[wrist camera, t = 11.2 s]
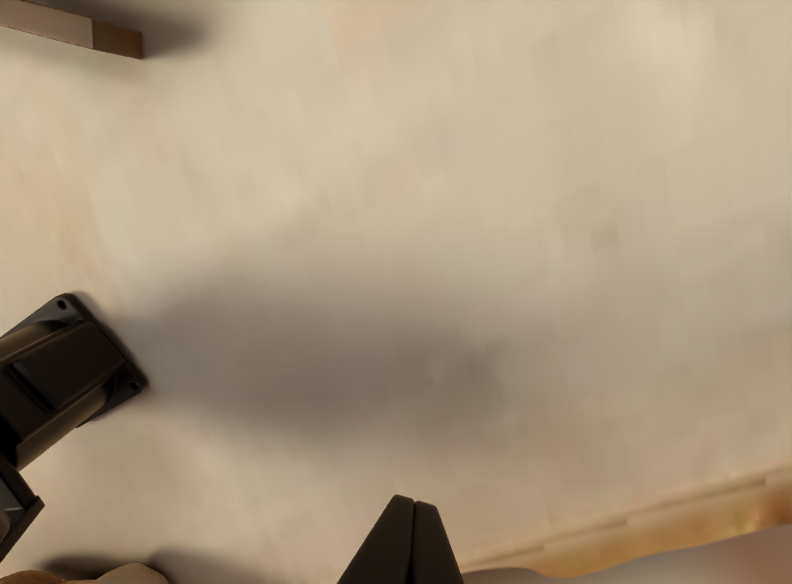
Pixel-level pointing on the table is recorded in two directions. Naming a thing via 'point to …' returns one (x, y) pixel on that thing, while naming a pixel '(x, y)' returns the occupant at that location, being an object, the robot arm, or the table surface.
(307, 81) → the table surface
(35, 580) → the ceramic sculpture
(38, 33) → the block
